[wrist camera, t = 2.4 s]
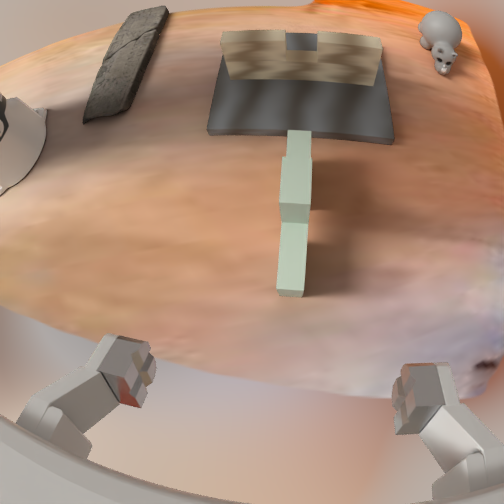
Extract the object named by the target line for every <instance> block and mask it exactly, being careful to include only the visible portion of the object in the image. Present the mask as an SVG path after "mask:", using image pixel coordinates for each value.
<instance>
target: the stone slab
mask: <svg viewBox="0 0 504 504" xmlns="http://www.w3.org/2000/svg"><path fill="white" fill-rule="evenodd" d="M168 14H169V11H168V9H167V8H166V6H159V7H155V8H149V9H145V10H141V11H137V12H134V13H131V14H130V15H129V16H128V18H127V19H126V21H125V22H124V23H123V24H122V26H121V28H120V29H119V31H118V32H117V34H116V35H115V37H114V39H113V41H112V43H111V44H110V46H109V49H108V51H107V53H106V55H105V57H104V59H103V63H102V66H101V68H100V69H99V71H98V73H97V76H96V80H95V82H94V84H93V88H92V91H91V94H90V97H89V101H88V102H87V106H86V109H85V112H84V117H83V124H85V123H86V122H87V121H88V120H89V119H91V118H95V117H99V116H109V115H115V114H118V113H119V112H120V111H126V110H127V109H128V108H129V107H130V106H131V104H132V102H133V100H134V97H135V95H136V92H137V91H138V88H139V85H140V83H141V80H142V78H143V75H144V73H145V70H146V67H147V65H148V63H149V60H150V58H151V56H152V54H153V51H154V49H155V46H156V44H157V41H158V39H159V36H160V35H159V34H160V33H161V30H162V29H163V26H164V24H165V22H166V20H167V17H168Z"/></svg>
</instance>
